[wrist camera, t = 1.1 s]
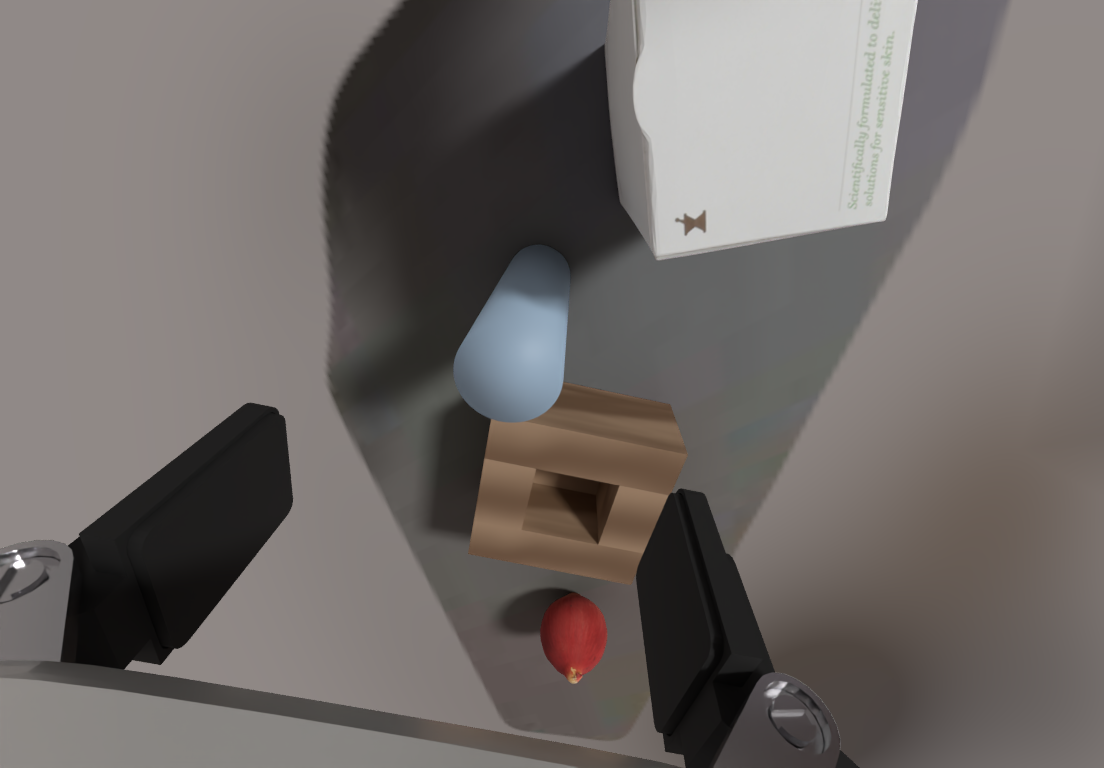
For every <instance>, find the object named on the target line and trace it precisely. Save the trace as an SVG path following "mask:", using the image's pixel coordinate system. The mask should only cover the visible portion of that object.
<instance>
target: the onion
mask: <svg viewBox="0 0 1104 768" xmlns="http://www.w3.org/2000/svg"><path fill="white" fill-rule="evenodd" d="M540 634H541V642H542V646H543V650H544V653H545V655H546V657H547V659H548V660H549V661H550V663H551V664H552V665H553V666H554V667H555V669H556V670H557V671H558V672H560V673H561V674H563V675H565V677H566V678H567V680H568V681H569V682H571V683H572V684H574V683H577V682H579V680H580V679H581V678H582V675H584V674H586V673H587V672H589V671H591V670H592V669H593V668H594V667H595V666H596V665H597V663H598V662H599V661H600V659H601V658H602V655H603V653H604V649H605V646H606V641H607V628H606V624H605V620H604V616H603V614H602V613H601V611H600V609H599V608H598V607H597V606H596V605H595V604H594V603H593V602H591V601H590V600H589V599H587V598H585V597H583V596H581V595H580V594H578V593H574V592H573V593H570V594H568V595H566V596H564V597H562V598H560V599H558V600H556V601H555V602H554V603H552V604H551V605H550V606H549V607H548V609H547V610H546V612H545V614H544V617H543V620H542V624H541V629H540Z"/></svg>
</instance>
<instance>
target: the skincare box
mask: <svg viewBox="0 0 1104 768" xmlns="http://www.w3.org/2000/svg"><path fill="white" fill-rule="evenodd" d="M917 2H918V0H610V8H609V19H608V28H607V35H606V42H605V61H606V73H607V87H608V101H609V113H610V124H611V133H612V142H613V151H614V160H615V168H616V177H617V185H618V192H619V199H620V203H621V205H622V206H623V207H624V209H625V210H626V212H627V213H628V214H629V216H630V217H631V219H632V220H633V222H634V223H635V225H636V227H637V228H638V230H639V231H640V233H641V234H642V236H643V237H644V239H645V241H646V242H647V244H648V245H649V247H650V249H651V250H652V252H653V254H654V257H655V259H656V260H665V259H671V258H676V257H682V256H688V255H694V254H700V253H706V252H712V251H718V250H723V249H729V248H735V247H740V246H746V245H751V244H757V243H763V242H768V241H774V240H779V239H785V238H790V237H796V236H801V235H807V234H812V233H818V232H823V231H829V230H834V229H840V228H846V227H851V226H857V225H862V224H868V223H874V222H880V221H885V219H886V215H887V210H888V202H889V194H890V186H891V178H892V170H893V163H894V156H895V150H896V143H897V136H898V130H899V123H900V116H901V110H902V103H903V96H904V89H905V83H906V76H907V69H908V62H909V55H910V48H911V41H912V34H913V27H914V20H915V14H916V8H917Z"/></svg>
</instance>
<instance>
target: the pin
mask: <svg viewBox="0 0 1104 768" xmlns="http://www.w3.org/2000/svg"><path fill="white" fill-rule="evenodd" d="M570 279H571V275H570V269H569V266H568V263H567V261H566V260H565V258H564V257H563V256H562V255H561V253H559V252H558V251H557V250H555V249H554V248H552V247H549V246H546V245H531V246H528V247H525V248H523V249H522V250H520V251H519V252H518V253H517V254H516V255H515V256H514V257H513V259H512V261H511V262H510V264H509V266H508V267H507V269H506V271H505V272H504V274H503V276H502V277H501V279H500V281H499V282H498V284H497V286H496V287H495V289H494V291H493V292H492V294H491V296H490V297H489V299H488V301H487V302H486V304H485V306H484V307H483V309H482V311H481V312H480V314H479V316H478V317H477V319H476V321H475V322H474V324H473V326H472V327H471V329H470V331H469V332H468V334H467V336H466V337H465V339H464V341H463V342H462V344H461V346H460V348H459V349H458V351H457V354H456V357H455V360H454V369H453V372H454V379H455V383H456V386H457V388H458V391H459V392H460V394H461V396H462V397H463V399H464V400H465V401H466V402H467V403H468V404H469V405H470V406H471V407H472V408H473V409H474V410H475V411H477V412H478V413H480V414H482V415H484V416H486V417H488V418H490V419H493V420H497V421H501V422H510V423H515V422H524V421H528V420H531V419H534V418H536V417H538V416H540V415H542V414H543V413H545V412H546V411H547V410H548V409H550V408H551V406H552V405H553V404H554V403H555V402H556V400H557V399H558V397H559V395H560V392H561V389H562V385H563V376H564V362H565V349H566V335H567V321H568V307H569V293H570Z"/></svg>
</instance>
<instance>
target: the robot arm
mask: <svg viewBox="0 0 1104 768" xmlns="http://www.w3.org/2000/svg"><path fill="white" fill-rule="evenodd" d="M292 503H293V495H292V485H291V474H290V464H289V454H288V444H287V433H286V424H285V418H284V417H283V416H282V415H279V411H278V410H277V409H276V408H274V407H269V406H265V405H260V404H255V403H247V404H245V405H243V406H242V407H241V408H239V409H238V410H237V411H236V412H234V413H233V414H232V415H231V416H229V417H228V418H227V419H225V420H224V421H223V422H222V423H220V424H219V425H218V426H216V427H215V428H214V429H213V430H211V431H210V432H209V433H207V434H206V435H205V436H204V437H202V438H201V439H200V440H198V441H197V442H196V443H195V444H193V445H192V446H191V447H189V448H188V449H187V450H186V451H184V452H183V453H182V454H181V455H179V456H178V457H177V458H175V459H174V460H173V461H171V462H170V463H169V464H168V465H166V466H165V467H164V468H162V469H161V470H160V471H159V472H157V473H156V474H155V475H153V476H152V477H151V478H150V479H148V480H147V481H146V482H145V483H143V484H142V485H141V486H139V487H138V488H137V489H136V490H134V491H133V492H132V493H131V494H129V495H128V496H127V497H125V498H124V499H123V500H121V501H120V502H119V503H118V504H116V505H115V506H114V507H113V508H111V509H110V510H109V511H107V512H106V513H105V514H104V515H102V516H101V517H100V518H98V519H97V520H96V521H95V522H93V523H92V524H91V525H89V526H88V527H87V528H86V529H84V530H83V531H82V532H80V533H79V535H80V537H78V538H77V539H76V540H75V541H74V542H72V543H71V544H69V545H68V546H67V545H66V544H64V543H61V542H57V541H54V540H34V541H29V542H22V543H17V544H14V545H11V546H8V547H4V548H1V549H0V768H681V767H677V766H674V765H669V764H666V763H662V762H657V761H652V760H647V759H642V758H637V757H632V756H626V755H621V754H617V753H611V752H606V751H601V750H596V749H591V748H586V747H581V746H575V745H569V744H564V743H558V742H552V741H547V740H541V739H535V738H530V737H524V736H518V735H513V734H507V733H501V732H496V731H490V730H484V729H479V728H473V727H467V726H462V725H456V724H450V723H444V722H438V721H432V720H427V719H421V718H415V717H410V716H404V715H398V714H392V713H386V712H380V711H375V710H368V709H363V708H357V707H351V706H345V705H339V704H333V703H327V702H322V701H316V700H310V699H304V698H298V697H292V696H286V695H280V694H274V693H268V692H262V691H255V690H249V689H243V688H237V687H232V686H225V685H219V684H213V683H207V682H201V681H195V680H189V679H183V678H177V677H170V676H163V675H156V674H150V673H143V672H136V671H129V670H124V669H125V668H126V666H127V665H128V664H129V663H130V662H131V661H132V660H135V661H141V662H147V663H152V664H158V665H161V664H162V663H163V662H164V660H165V659H166V658H167V656H168V655H169V654H170V653H171V652H172V650H173V649H174V648H176V649H178V648H180V647H182V646H183V645H185V644H186V643H187V642H188V640H189V639H190V638H191V637H192V636H193V634H194V633H195V632H196V630H197V629H198V628H199V626H200V625H201V624H202V623H203V621H204V620H205V619H206V618H207V616H208V615H209V614H210V613H211V611H212V610H213V609H214V607H215V606H216V605H217V604H218V603H219V601H220V600H221V599H222V597H223V596H224V595H225V594H226V592H227V591H228V590H229V589H230V587H231V586H232V585H233V583H234V582H235V581H236V580H237V578H238V577H239V576H240V575H241V573H242V572H243V571H244V570H245V568H246V567H247V566H248V564H249V563H250V562H251V561H252V559H253V558H254V557H255V556H256V554H257V553H258V552H259V550H260V549H261V548H262V547H263V545H264V544H265V543H266V542H267V540H268V539H269V538H270V537H271V535H272V534H273V533H274V531H275V530H276V529H277V528H278V526H279V525H280V524H281V523H282V521H283V520H284V519H285V517H286V516H287V515H288V513H289V511H290V509H291V507H292ZM636 582H637V590H638V598H639V606H640V614H641V622H642V630H643V638H644V646H645V654H646V662H647V670H648V678H649V686H650V694H651V702H652V710H653V718H654V724H655V728H656V730H657V732H659V733H663V738H664V745H665V751H666V752H670V753H676V754H682V755H684V760H685V766H686V768H859V767H858V766H857V765H856V764H855V763H854V762H853V761H852V760H850V759H849V758H848V757H847V756H846V755H845V754H844V753H843V752H842V751H841V750H840V736H839V733H838V728H837V725H836V723H835V721H834V719H833V717H832V715H831V713H830V711H829V710H828V708H827V707H826V706H825V704H824V703H823V702H822V700H821V699H820V698H819V697H818V696H817V695H816V694H815V693H814V692H813V691H812V690H811V689H810V688H809V687H808V686H806V685H805V684H803V683H802V682H800V681H799V680H797V679H796V678H794V677H791V676H788V675H786V674H784V673H775V671H774V668H773V665H772V663H771V660H770V657H769V654H768V652H767V649H766V646H765V643H764V641H763V638H762V635H761V632H760V630H759V627H758V624H757V621H756V619H755V616H754V614H753V610H752V608H751V605H750V602H749V600H748V597H747V594H746V591H745V589H744V586H743V583H742V580H741V578H740V575H739V572H738V570H737V567H736V564H735V562H734V560H733V558H732V557H731V556H730V555H729V554H726V553H725V550H724V547H723V544H722V541H721V539H720V536H719V533H718V530H717V527H716V524H715V521H714V519H713V516H712V513H711V510H710V507H709V504H708V501H707V499H706V496H705V494H703V493H701V492H696V491H691V490H686V489H679V490H678V491H677V492H676V494H675V493H670V494H669V496H668V498H667V500H666V502H665V505H664V507H663V509H662V511H661V514H660V516H659V518H658V521H657V523H656V525H655V528H654V530H653V532H652V534H651V537H650V539H649V541H648V544H647V546H646V548H645V551H644V553H643V555H642V557H641V560H640V562H639V564H638V568H637V573H636Z"/></svg>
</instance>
